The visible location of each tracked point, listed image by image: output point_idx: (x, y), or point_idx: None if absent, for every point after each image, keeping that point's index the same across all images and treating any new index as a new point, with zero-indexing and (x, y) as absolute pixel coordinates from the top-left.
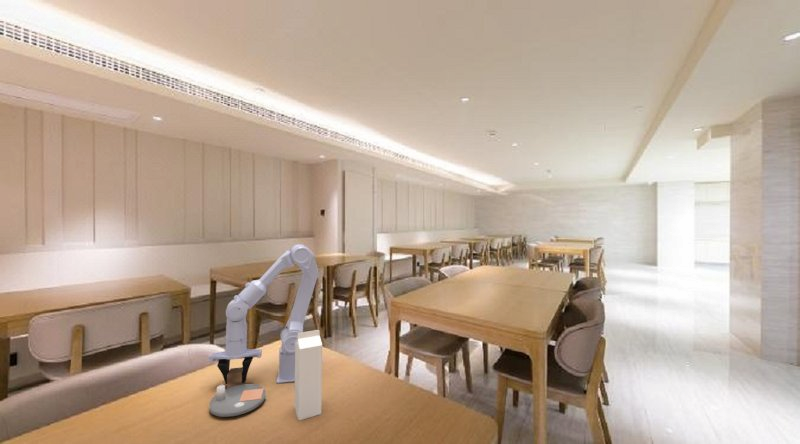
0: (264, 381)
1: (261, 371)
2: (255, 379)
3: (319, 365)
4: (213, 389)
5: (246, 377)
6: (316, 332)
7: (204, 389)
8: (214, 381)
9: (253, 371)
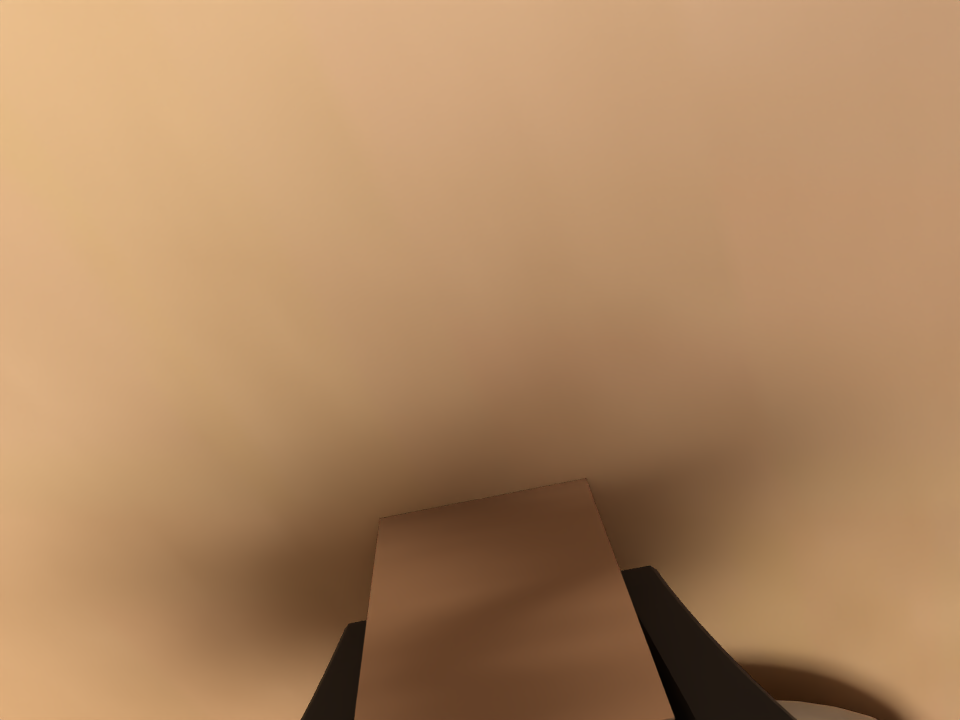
0: (903, 452)
1: (808, 63)
2: (747, 391)
3: None
4: (210, 644)
5: (667, 586)
6: None
7: (73, 646)
8: (39, 446)
9: (627, 54)
